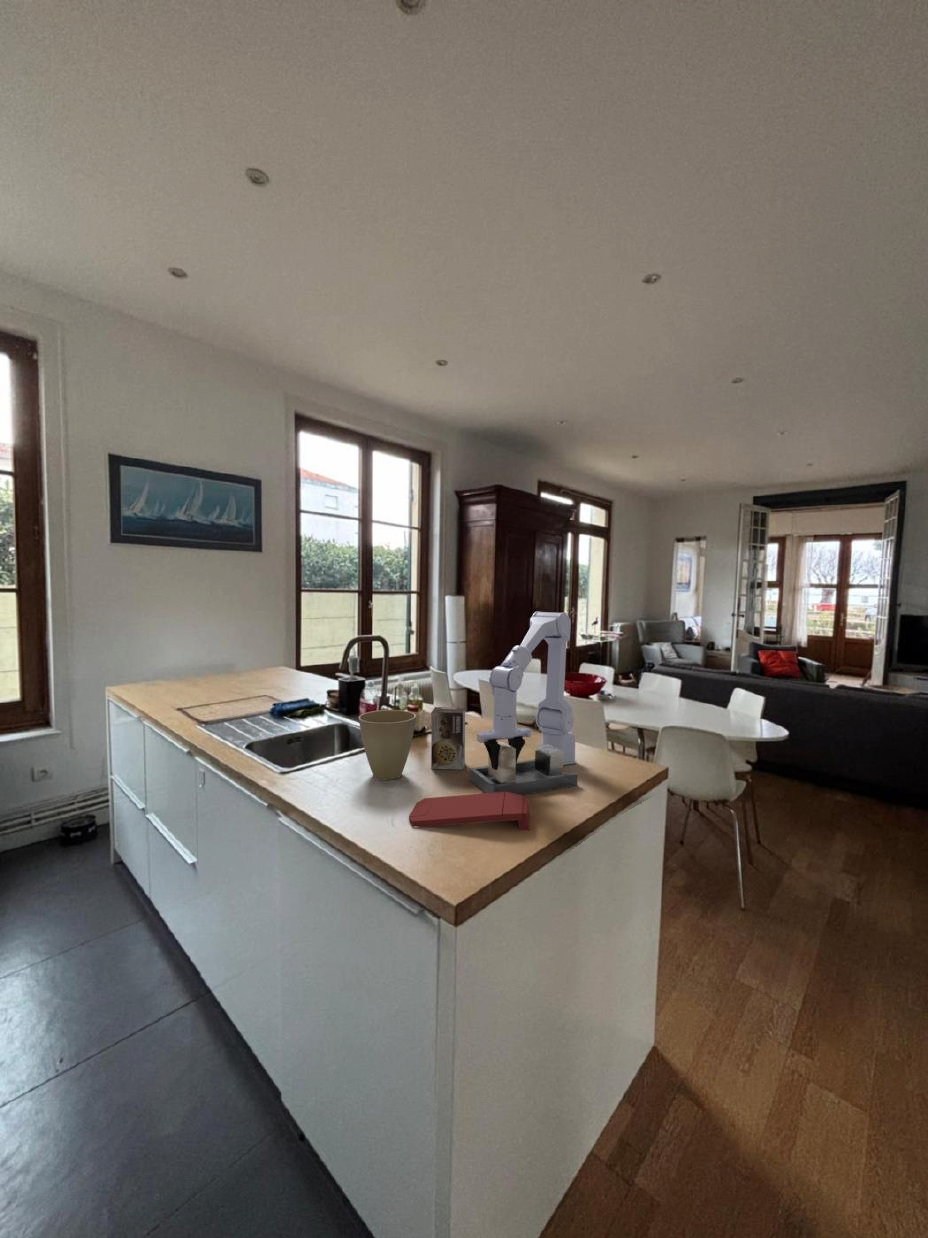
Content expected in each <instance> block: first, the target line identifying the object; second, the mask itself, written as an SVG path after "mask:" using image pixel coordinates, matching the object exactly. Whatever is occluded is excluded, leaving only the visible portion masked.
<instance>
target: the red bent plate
mask: <svg viewBox="0 0 928 1238" xmlns="http://www.w3.org/2000/svg"><path fill="white" fill-rule="evenodd" d="M408 820H409V821H408V822H409V823H410V824H411V825H412V827H414V826H418V827H417V828H426V827H440V826H450V825H451V826H453V825H463V824H465V825H467V824H478V823H489V822H490V823H491V822H502V821H517V822H518V830H519V831H524V832H525V831H526V832H527V831H528V832H529V831H530V808H529V801H528V797H524V795H519V794H514V793H510V792H494V793H485V792H483V793H472V794H461V795H459V794H457V795H451V796H450V795H448V796H446V795H445V796H438V797H437V796H436V797H435V796H434V797H425V798H423V799H421V800H419V801H417V802H416V803H415V804H414V806H413V808H412V810H411V812H410V813H409V815H408Z"/></svg>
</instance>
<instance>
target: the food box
mask: <svg viewBox="0 0 928 1238" xmlns="http://www.w3.org/2000/svg"><path fill="white" fill-rule="evenodd" d="M430 716H431V721H430V722H431V727H430V728H431V730H430V731H431V732H430V734H431V736H430V738H431V745H430V746H431V748H430V749H431V755H430V756H431V758H430V759H431V761H430V763H431V764H430V769H431V770H432V769H433V770H435V769H437V770H459V771H460V770H464V768H465V765H466V764H465V763H466V758H465V757H466V752H465V751H466V708H465V707H456V706H455V707H452V706H451V707H450V706H448V707H446V706H434V708H433V709H432V711H431V715H430Z"/></svg>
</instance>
